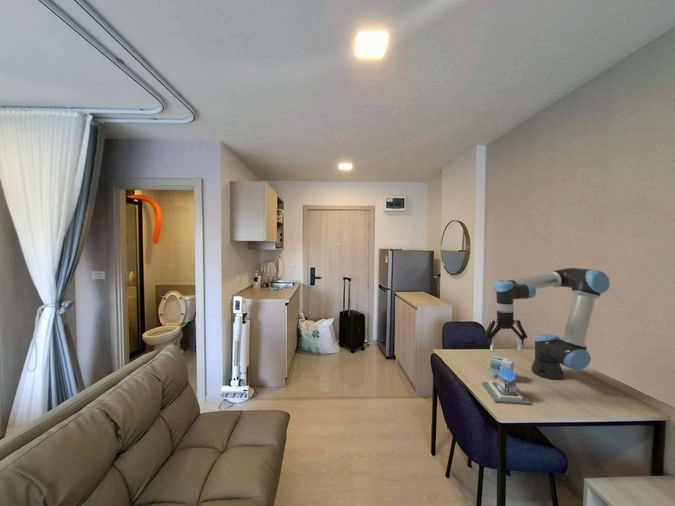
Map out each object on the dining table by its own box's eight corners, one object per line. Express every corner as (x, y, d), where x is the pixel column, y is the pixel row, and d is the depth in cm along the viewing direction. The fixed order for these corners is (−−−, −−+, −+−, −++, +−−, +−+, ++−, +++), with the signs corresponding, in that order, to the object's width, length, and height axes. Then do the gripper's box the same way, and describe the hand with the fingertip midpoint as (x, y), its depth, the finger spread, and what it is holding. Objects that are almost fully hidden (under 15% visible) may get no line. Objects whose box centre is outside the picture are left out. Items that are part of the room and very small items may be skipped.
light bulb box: (490, 376, 158) (490, 358, 158) (493, 372, 163) (492, 355, 163) (511, 382, 151) (511, 363, 150) (513, 378, 156) (513, 359, 155)
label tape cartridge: (496, 388, 143) (496, 366, 143) (503, 388, 143) (503, 365, 143) (509, 398, 134) (509, 374, 134) (516, 397, 135) (516, 373, 134)
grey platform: (513, 385, 148) (513, 381, 148) (531, 405, 130) (531, 400, 130) (481, 383, 150) (481, 379, 150) (495, 402, 132) (495, 397, 132)
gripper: (526, 309, 144) (527, 348, 144) (477, 309, 147) (478, 347, 148) (535, 312, 136) (535, 354, 137) (482, 312, 140) (483, 353, 140)
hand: (505, 350), depth 142 cm, fingers open, 13 cm apart
